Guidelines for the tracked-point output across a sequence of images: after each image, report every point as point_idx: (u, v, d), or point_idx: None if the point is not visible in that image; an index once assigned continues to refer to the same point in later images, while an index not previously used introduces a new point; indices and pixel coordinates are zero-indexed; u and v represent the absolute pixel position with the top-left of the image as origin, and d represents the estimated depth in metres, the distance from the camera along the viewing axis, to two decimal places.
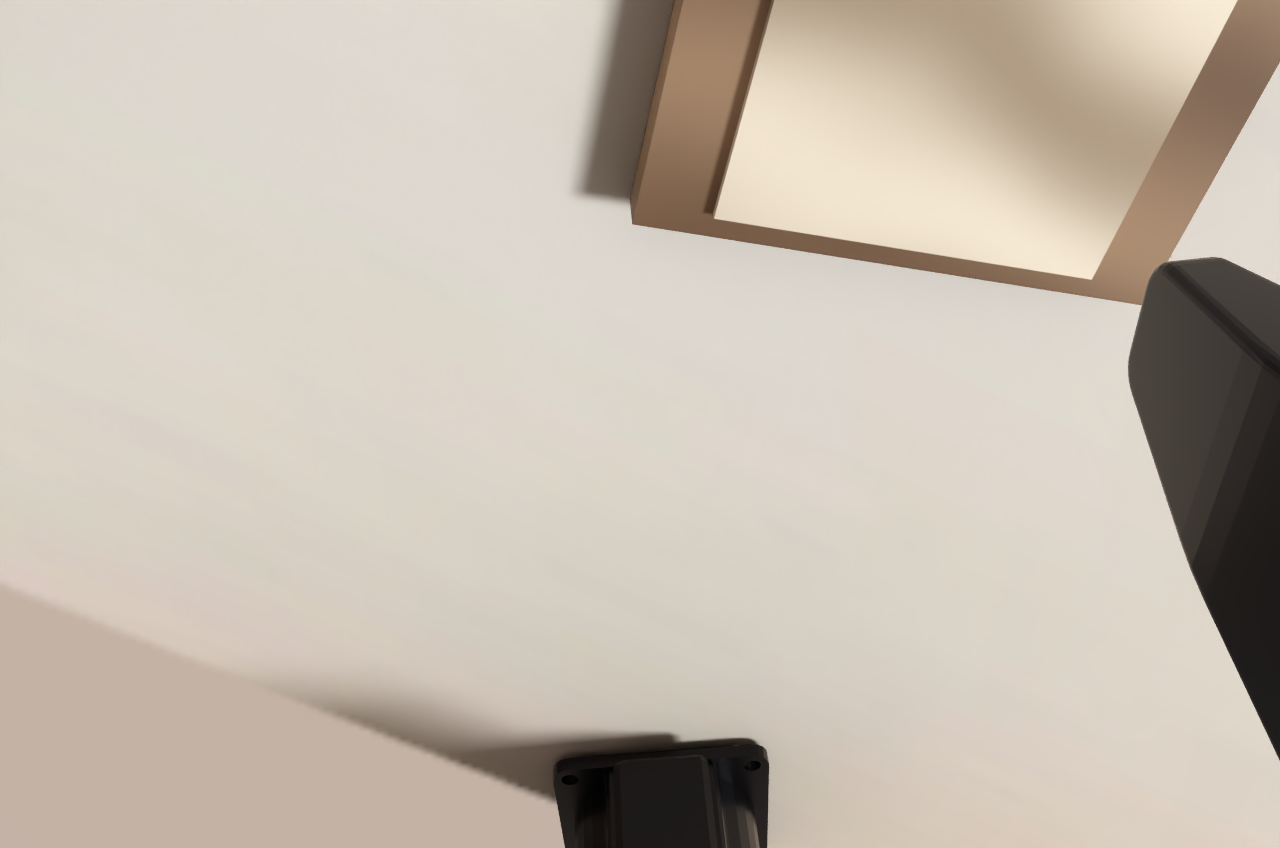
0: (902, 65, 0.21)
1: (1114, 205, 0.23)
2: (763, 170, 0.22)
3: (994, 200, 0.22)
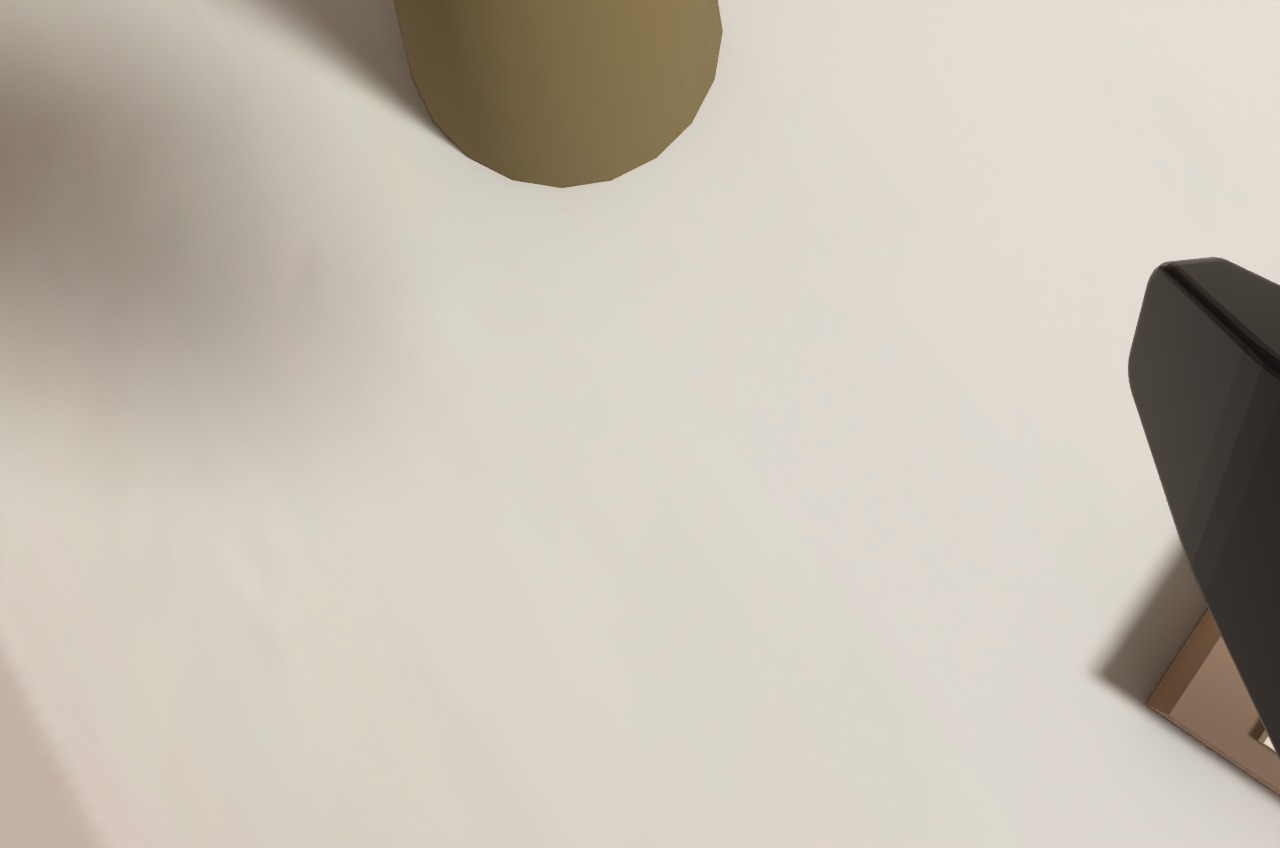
0: None
1: None
2: None
3: None
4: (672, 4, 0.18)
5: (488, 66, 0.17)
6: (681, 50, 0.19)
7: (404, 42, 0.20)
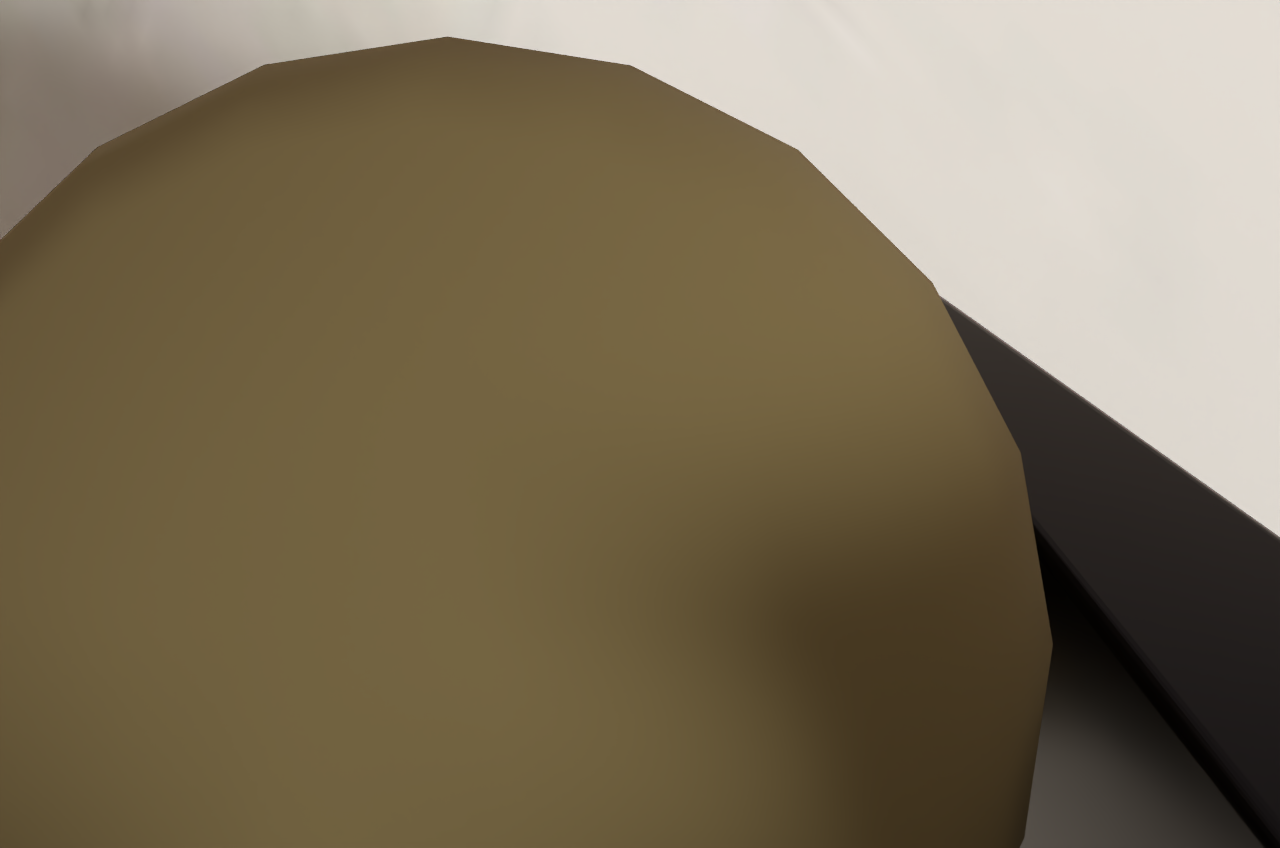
0: None
1: None
2: None
3: None
4: None
5: None
6: None
7: None
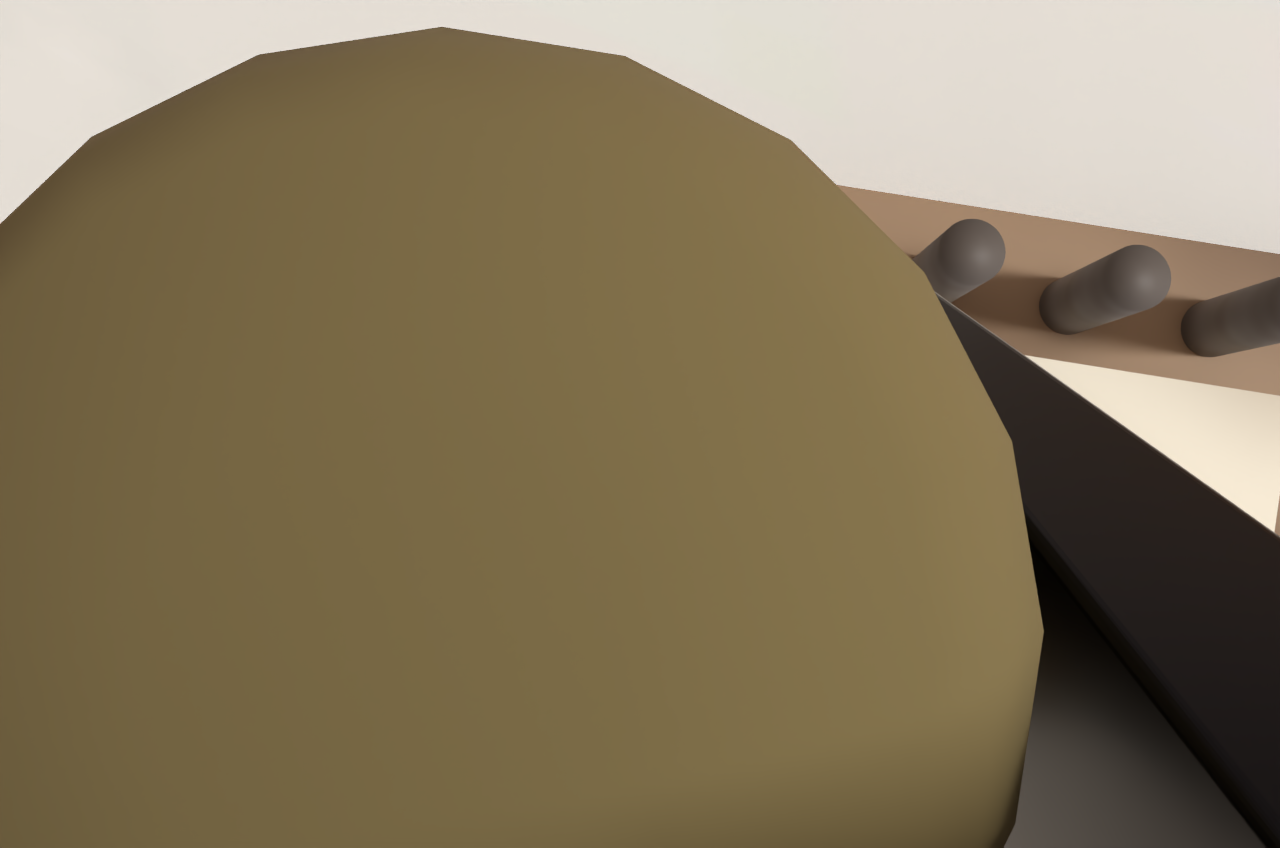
0: None
1: None
2: None
3: None
4: None
5: None
6: None
7: None
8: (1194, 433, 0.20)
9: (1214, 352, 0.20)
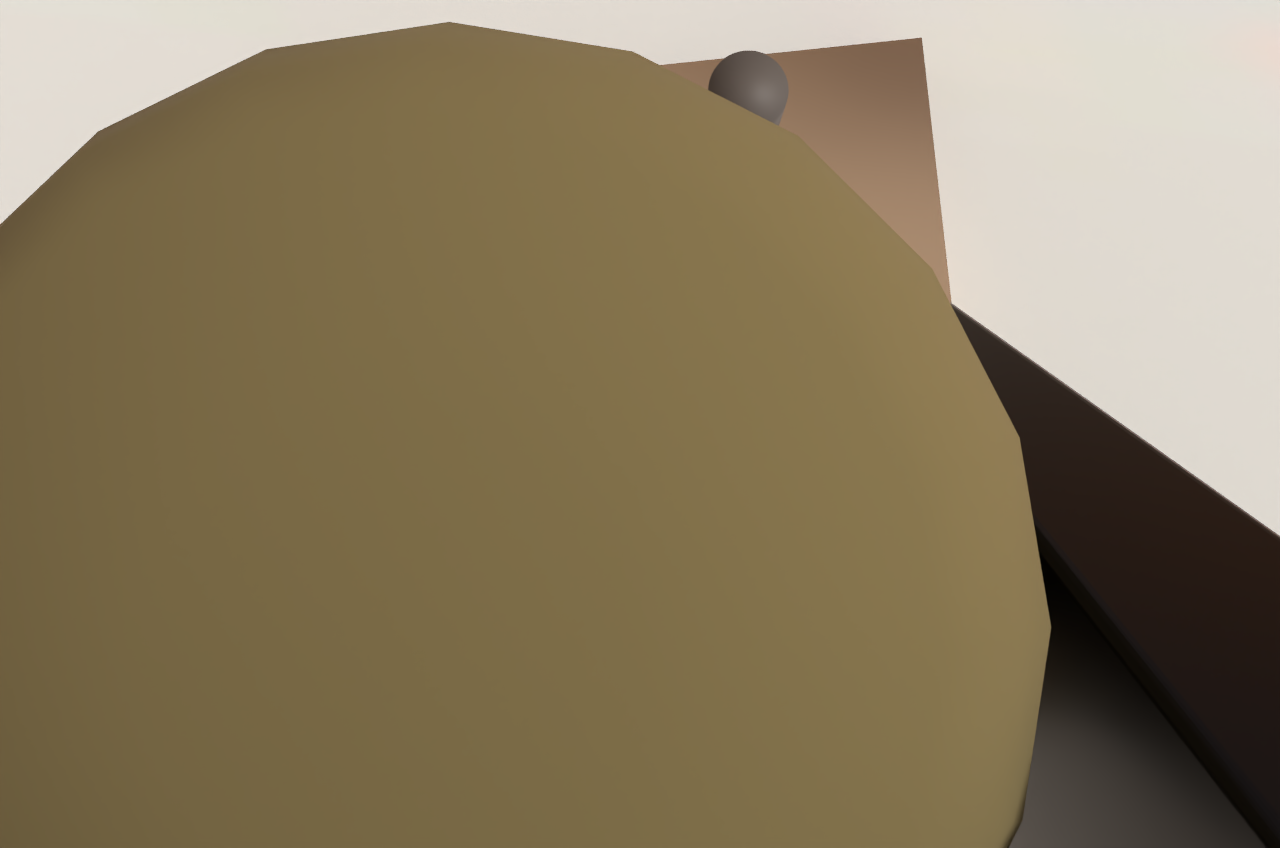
0: None
1: None
2: None
3: None
4: None
5: None
6: None
7: None
8: None
9: None
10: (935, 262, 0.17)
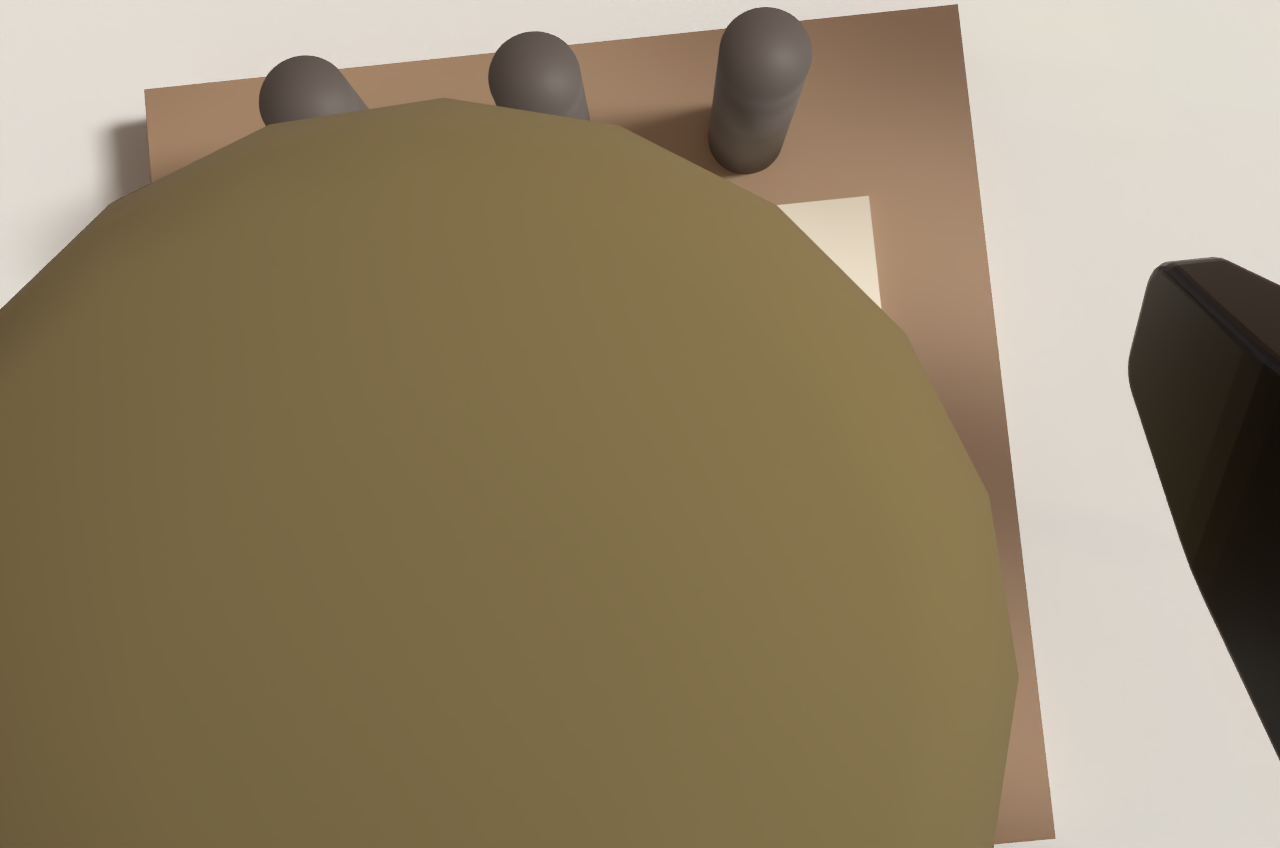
0: None
1: None
2: None
3: None
4: None
5: None
6: None
7: None
8: None
9: (745, 163, 0.15)
10: (974, 256, 0.15)
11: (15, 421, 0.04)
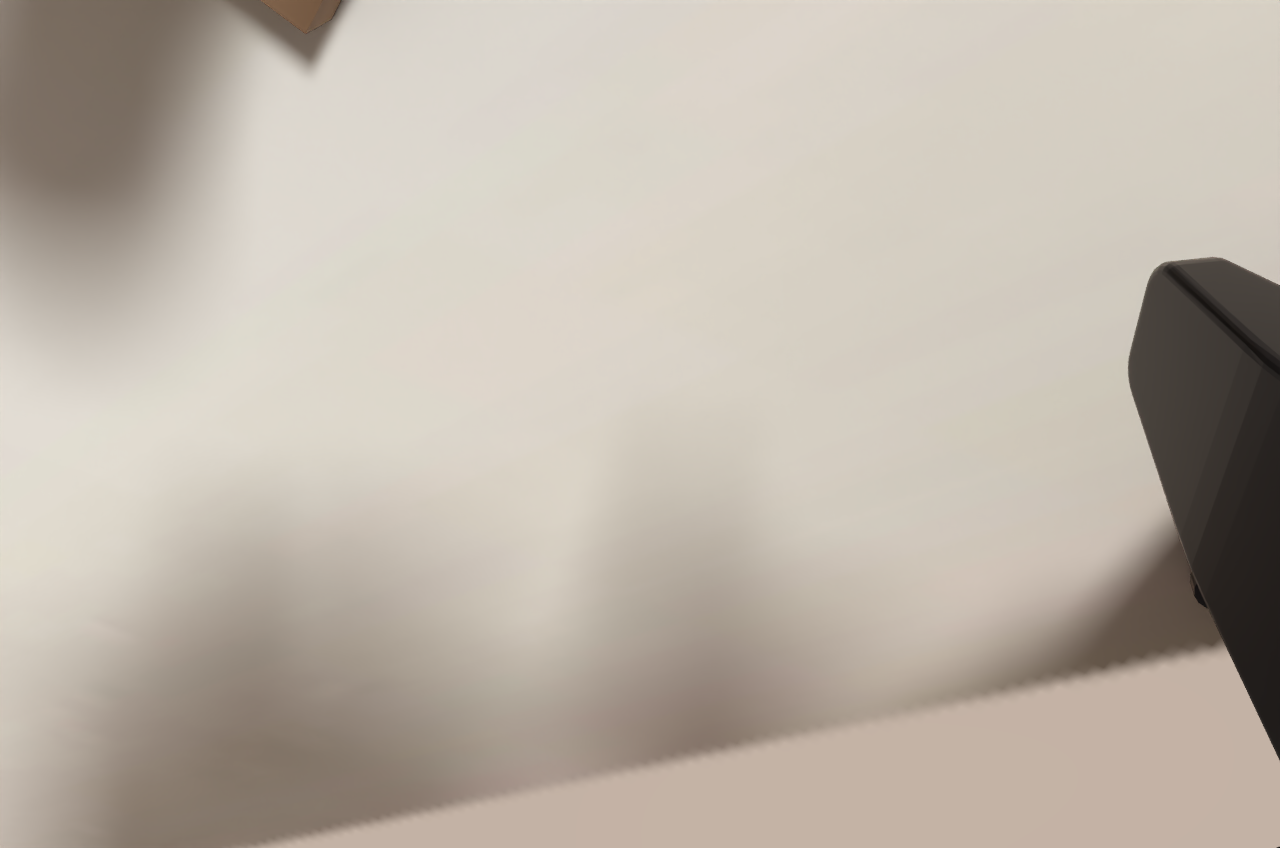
0: None
1: None
2: None
3: None
4: None
5: None
6: None
7: None
8: None
9: None
10: None
11: None
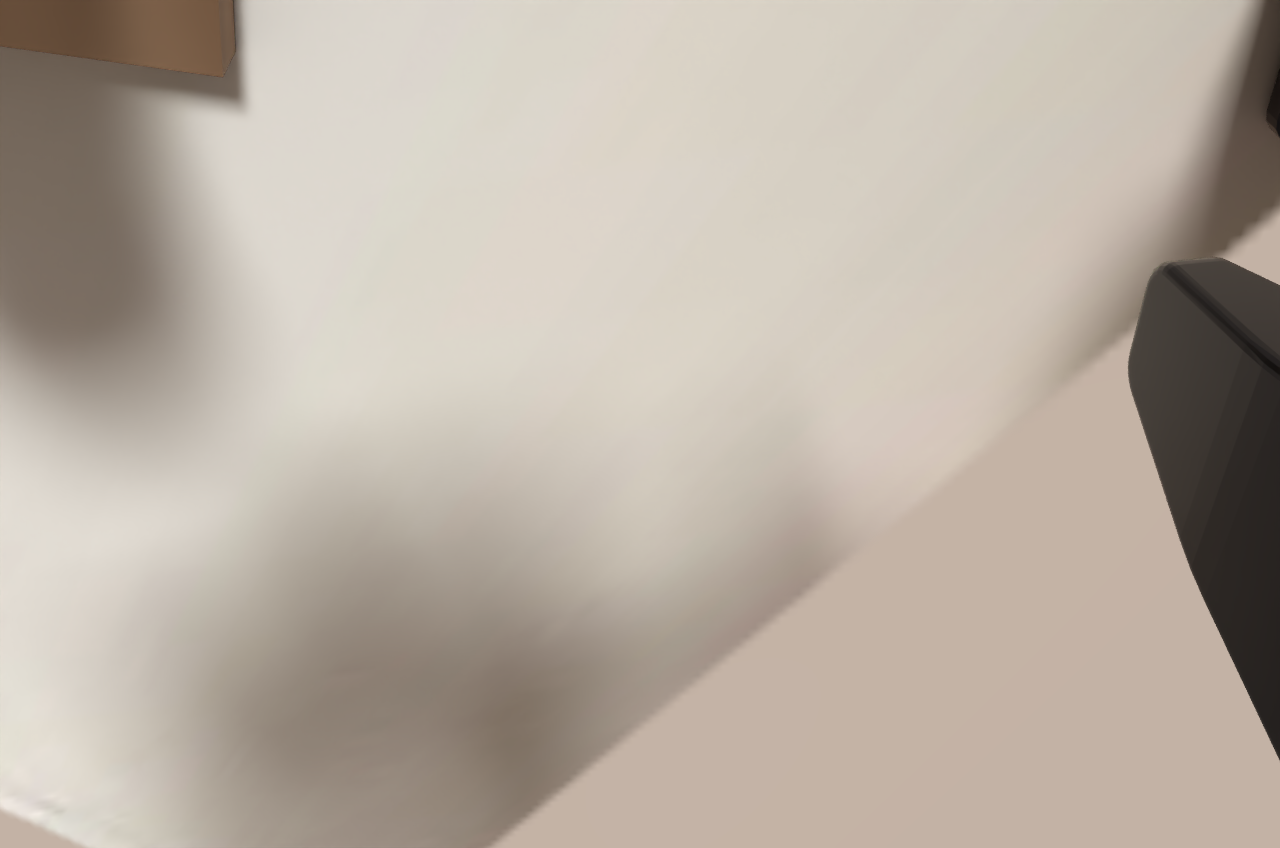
0: None
1: None
2: None
3: None
4: None
5: None
6: None
7: None
8: None
9: None
10: None
11: None
